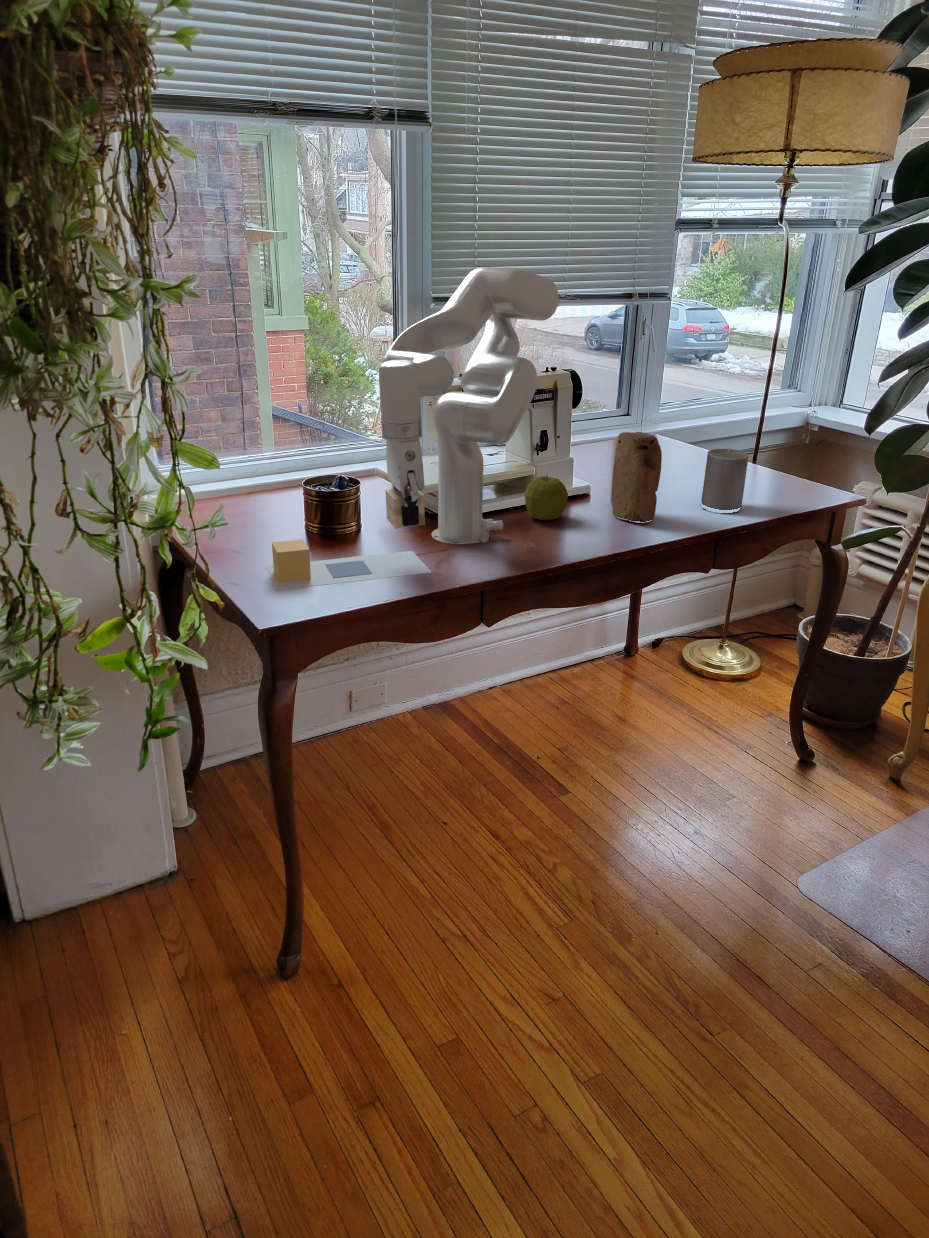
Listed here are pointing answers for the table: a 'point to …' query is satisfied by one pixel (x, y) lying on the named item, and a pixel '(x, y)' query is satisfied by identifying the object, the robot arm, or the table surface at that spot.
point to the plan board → (356, 569)
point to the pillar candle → (724, 479)
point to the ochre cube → (291, 560)
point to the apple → (546, 498)
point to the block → (636, 476)
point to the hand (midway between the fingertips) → (405, 518)
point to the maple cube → (395, 507)
